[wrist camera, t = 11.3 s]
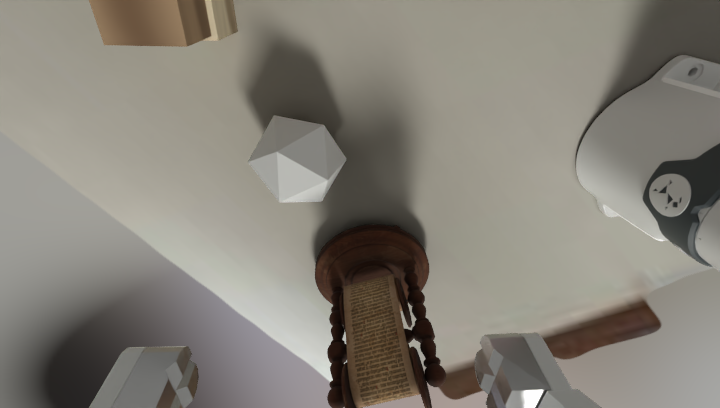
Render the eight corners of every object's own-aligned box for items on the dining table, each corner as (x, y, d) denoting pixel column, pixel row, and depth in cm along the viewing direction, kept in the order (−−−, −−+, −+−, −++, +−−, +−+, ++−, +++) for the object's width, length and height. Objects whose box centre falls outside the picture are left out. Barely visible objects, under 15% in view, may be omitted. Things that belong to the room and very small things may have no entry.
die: (262, 97, 35) (217, 175, 31) (333, 89, 31) (292, 178, 27) (303, 148, 41) (270, 219, 37) (367, 148, 37) (337, 227, 33)
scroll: (411, 203, 42) (460, 350, 25) (434, 285, 50) (483, 438, 33) (298, 236, 44) (274, 394, 27) (337, 310, 52) (337, 468, 35)
